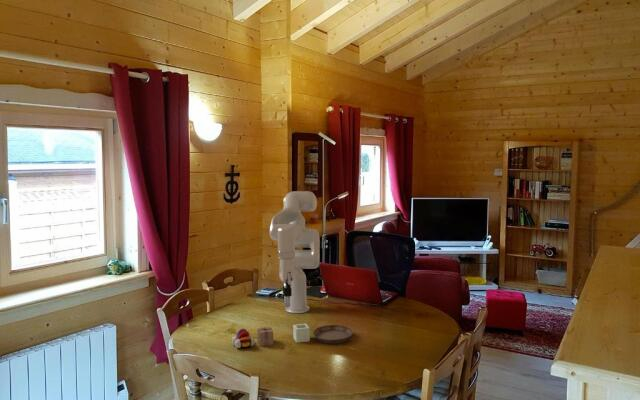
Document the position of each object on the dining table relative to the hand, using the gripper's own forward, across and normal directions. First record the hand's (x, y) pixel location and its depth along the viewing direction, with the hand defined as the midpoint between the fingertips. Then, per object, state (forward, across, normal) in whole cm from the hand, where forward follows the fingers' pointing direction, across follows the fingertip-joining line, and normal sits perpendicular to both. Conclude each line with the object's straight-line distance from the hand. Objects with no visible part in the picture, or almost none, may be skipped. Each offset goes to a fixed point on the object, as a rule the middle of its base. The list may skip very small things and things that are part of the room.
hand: (287, 295), depth 235 cm
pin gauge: (+5, 0, 0) cm, 5 cm away
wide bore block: (+19, +4, +5) cm, 21 cm away
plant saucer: (+20, +6, +19) cm, 28 cm away
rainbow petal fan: (+20, +4, -20) cm, 29 cm away
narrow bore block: (+19, +4, -11) cm, 23 cm away
